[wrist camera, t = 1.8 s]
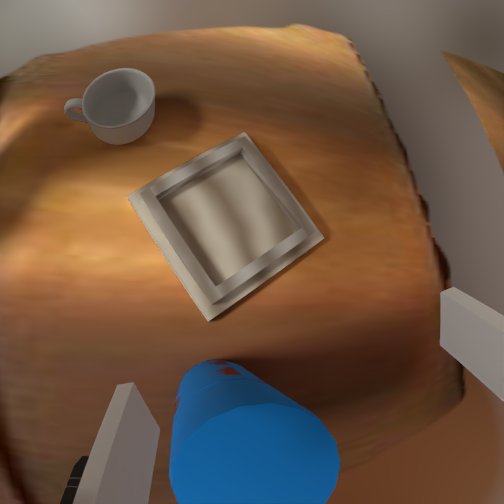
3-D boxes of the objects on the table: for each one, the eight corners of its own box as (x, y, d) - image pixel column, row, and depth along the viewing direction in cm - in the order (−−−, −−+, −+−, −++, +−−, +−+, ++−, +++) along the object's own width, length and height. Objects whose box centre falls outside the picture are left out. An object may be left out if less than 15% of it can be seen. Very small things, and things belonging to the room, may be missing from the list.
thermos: (216, 448, 38) (255, 561, 14) (159, 395, 38) (130, 478, 14) (273, 396, 41) (371, 462, 17) (219, 341, 41) (265, 362, 17)
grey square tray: (207, 321, 41) (209, 321, 38) (128, 200, 43) (124, 190, 39) (320, 240, 47) (330, 234, 44) (242, 137, 49) (247, 124, 45)
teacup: (164, 102, 47) (163, 69, 40) (148, 158, 45) (144, 128, 37) (87, 98, 45) (77, 67, 37) (66, 151, 42) (50, 123, 35)
